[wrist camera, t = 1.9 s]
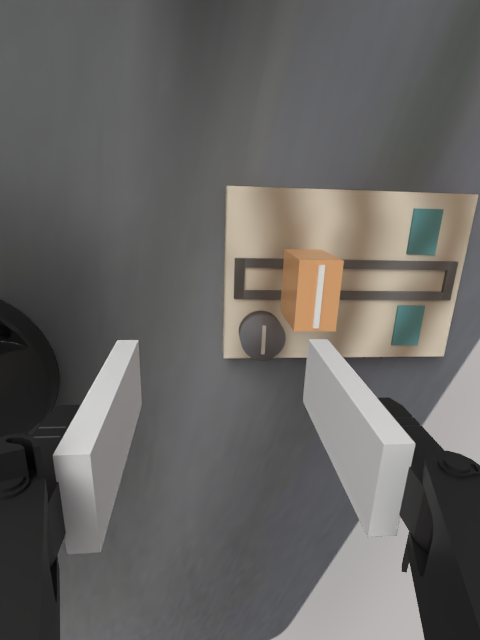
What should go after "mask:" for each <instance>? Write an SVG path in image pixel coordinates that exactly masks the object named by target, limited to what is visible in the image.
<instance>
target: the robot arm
mask: <svg viewBox="0 0 480 640" xmlns="http://www.w3.org/2000/svg"><path fill="white" fill-rule="evenodd" d="M58 390H59V371H58V366H57V362H56V359H55V356H54V353H53V351H52V349H51V347H50V345H49V343H48V341H47V340H46V338H45V337H44V335H43V334H42V333H41V331H40V330H39V329H38V328H37V327H36V326H35V324H34V323H33V322H32V321H31V320H29V319H28V318H27V317H26V316H25V315H24V314H22V313H21V312H20V311H18V310H17V309H15V308H14V307H12V306H11V305H9V304H7V303H5V302H3V301H2V300H0V640H60V580H59V563H58V557H57V554H58V551H59V549H60V546H61V544H62V541H63V539H64V538H65V544H66V551H67V554H81V553H99V552H101V550H102V546H103V542H104V539H105V535H106V532H107V528H108V524H109V521H110V517H111V514H112V510H113V507H114V503H115V499H116V496H117V492H118V489H119V485H120V481H121V478H122V474H123V471H124V467H125V463H126V460H127V456H128V453H129V449H130V446H131V442H132V438H133V435H134V431H135V428H136V424H137V420H138V417H139V413H140V410H141V406H142V397H141V379H140V361H139V343H138V340H117V342H116V343H115V345H114V347H113V349H112V351H111V352H110V354H109V356H108V358H107V360H106V361H105V363H104V365H103V367H102V368H101V370H100V372H99V374H98V376H97V377H96V379H95V381H94V383H93V384H92V386H91V388H90V390H89V392H88V393H87V395H86V397H85V399H84V400H83V402H82V404H81V405H60V406H59V407H57V408H56V409H55V410H53V411H52V412H51V410H52V409H53V406H54V404H55V402H56V399H57V395H58ZM303 403H304V405H305V407H306V409H307V411H308V413H309V415H310V418H311V420H312V422H313V424H314V426H315V428H316V430H317V432H318V434H319V436H320V439H321V441H322V443H323V445H324V447H325V449H326V451H327V453H328V455H329V457H330V460H331V462H332V464H333V466H334V468H335V470H336V472H337V474H338V476H339V478H340V480H341V483H342V485H343V487H344V489H345V491H346V493H347V495H348V497H349V499H350V501H351V504H352V506H353V508H354V510H355V512H356V514H357V516H358V518H359V520H360V522H361V524H362V527H363V529H364V531H365V533H366V535H367V537H381V536H396V535H397V531H398V526H399V522H400V517H401V518H402V520H403V521H404V523H405V525H406V526H407V528H408V530H409V535H408V539H407V544H406V548H405V553H404V557H403V563H402V572H407V568H408V564H409V563H410V566H411V572H412V577H413V582H414V587H415V592H416V597H417V602H418V607H419V612H420V618H421V623H422V628H423V633H424V638H425V640H480V465H479V464H477V463H476V462H474V461H473V460H472V459H470V458H467V457H465V456H463V455H461V454H457V453H454V452H450V451H444V450H443V449H442V447H441V446H439V444H438V443H437V442H436V441H435V440H434V439H433V438H432V437H431V436H430V435H429V434H428V432H426V430H425V429H424V428H423V427H422V426H420V424H419V423H418V422H417V421H416V420H415V418H412V415H411V414H410V413H409V412H408V411H407V410H406V409H405V408H404V407H403V406H402V405H400V404H399V403H397V402H395V401H394V400H392V399H390V398H377V397H376V396H375V395H374V394H373V393H372V391H371V390H370V389H369V388H368V387H367V385H366V384H365V383H364V382H363V381H362V379H361V378H360V377H359V376H358V375H357V373H356V372H355V371H354V370H353V369H352V368H351V366H350V365H349V364H348V363H347V362H346V360H345V359H344V358H343V357H342V356H341V354H340V353H339V352H338V351H337V350H336V349H335V347H334V346H333V345H332V344H331V343H330V341H329V340H328V339H309V341H308V351H307V362H306V373H305V383H304V394H303Z"/></svg>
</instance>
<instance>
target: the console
mask: <svg viewBox="0 0 480 640" xmlns="http://www.w3.org/2000/svg"><path fill="white" fill-rule="evenodd" d="M477 199H478V195H476V194H447V193H419V192H390V191H362V190H333V189H305V188H276V187H247V186H226V201H225V253H224V305H223V356H224V358H253V359H256V360H268V359H271V358H307V351H308V341H309V339H328V340H329V341H330V343H331V344H332V345H333V346H334V347H335V349H336V350H337V351H338V352H339V353H340V354H341V356H342V357H427V356H444V352H445V348H446V343H447V338H448V334H449V329H450V324H451V320H452V315H453V311H454V306H455V301H456V297H457V292H458V287H459V283H460V278H461V274H462V269H463V264H464V260H465V255H466V250H467V246H468V241H469V236H470V232H471V227H472V223H473V218H474V213H475V209H476V204H477ZM284 249H313V250H324V251H326V252H328V253H330V254H332V255H334V256H336V257H338V258H340V259H342V260H344V265H343V273H342V282H341V290H340V299H339V307H338V316H337V324H336V331H311V332H294V331H293V329H292V328H291V326H290V325H289V323H288V322H287V320H286V319H285V317H284V316H283V314H282V312H281V311H280V306H281V291H282V276H283V261H284Z"/></svg>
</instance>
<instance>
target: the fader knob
mask: <svg viewBox="0 0 480 640" xmlns="http://www.w3.org/2000/svg"><path fill="white" fill-rule="evenodd" d="M343 265H344V260H342V259H340V258H338V257H336V256H334V255H332V254H330V253H328V252H326V251H324V250H313V249H284V261H283V276H282V291H281V306H280V311H281V312H282V314H283V316H284V317H285V319H286V320H287V322H288V323H289V325H290V326H291V328H292V329H293V331H294V332H311V331H336V324H337V316H338V307H339V299H340V290H341V282H342V273H343Z"/></svg>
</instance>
